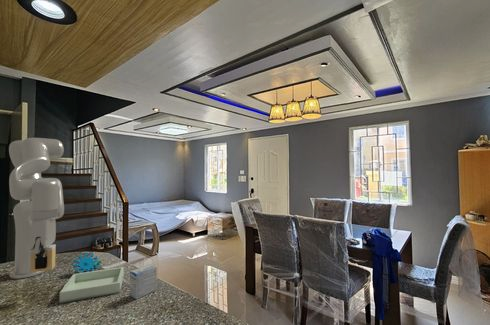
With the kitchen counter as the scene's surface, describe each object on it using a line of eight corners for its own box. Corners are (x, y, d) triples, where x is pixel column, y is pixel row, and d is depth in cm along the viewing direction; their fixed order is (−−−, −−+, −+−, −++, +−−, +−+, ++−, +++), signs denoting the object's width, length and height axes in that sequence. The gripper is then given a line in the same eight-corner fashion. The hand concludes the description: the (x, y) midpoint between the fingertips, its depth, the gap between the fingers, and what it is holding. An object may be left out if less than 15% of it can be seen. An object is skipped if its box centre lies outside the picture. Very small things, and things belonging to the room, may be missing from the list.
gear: (73, 275, 98) (73, 253, 104) (70, 282, 101) (70, 260, 107) (103, 270, 106) (101, 250, 112) (99, 278, 108) (98, 258, 114)
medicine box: (149, 287, 91) (149, 264, 91) (156, 290, 88) (157, 266, 88) (129, 296, 84) (129, 271, 84) (136, 299, 82) (136, 274, 82)
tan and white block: (34, 268, 86) (35, 246, 86) (55, 266, 88) (55, 244, 88) (30, 272, 83) (31, 249, 83) (51, 269, 85) (52, 247, 85)
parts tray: (73, 283, 95) (73, 274, 95) (124, 275, 102) (124, 266, 102) (59, 303, 80) (59, 292, 80) (119, 292, 87) (119, 282, 87)
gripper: (41, 211, 92) (40, 259, 92) (20, 220, 77) (18, 277, 76) (64, 210, 95) (63, 256, 95) (48, 218, 80) (47, 274, 79)
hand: (43, 265), depth 86 cm, fingers closed on tan and white block, 3 cm apart
